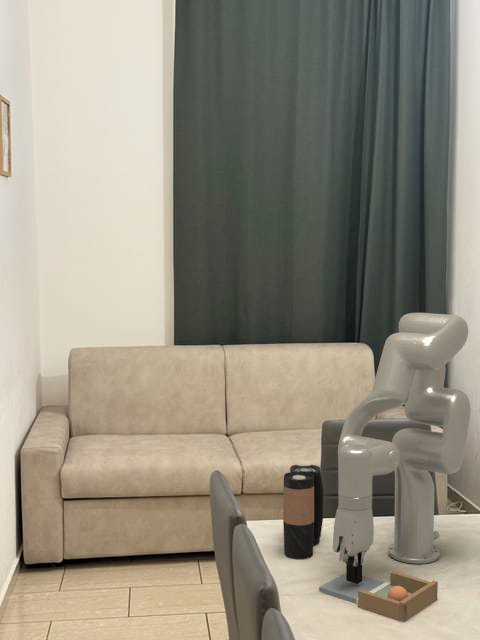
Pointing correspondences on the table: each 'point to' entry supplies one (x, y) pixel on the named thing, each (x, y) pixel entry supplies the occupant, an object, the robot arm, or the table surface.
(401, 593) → the ball
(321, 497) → the portable speaker
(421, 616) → the table surface
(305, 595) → the table surface
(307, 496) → the travel mug
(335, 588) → the lane
